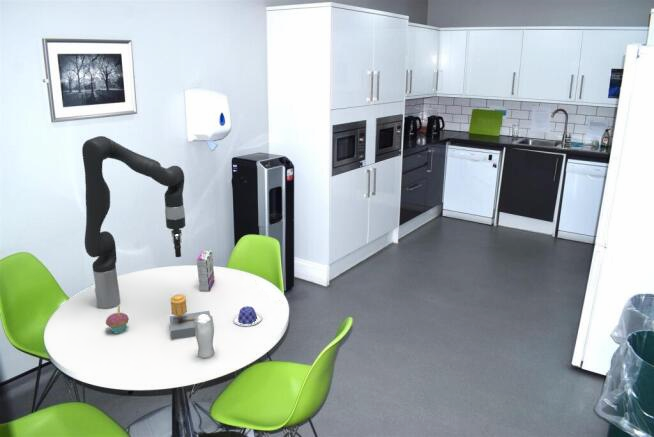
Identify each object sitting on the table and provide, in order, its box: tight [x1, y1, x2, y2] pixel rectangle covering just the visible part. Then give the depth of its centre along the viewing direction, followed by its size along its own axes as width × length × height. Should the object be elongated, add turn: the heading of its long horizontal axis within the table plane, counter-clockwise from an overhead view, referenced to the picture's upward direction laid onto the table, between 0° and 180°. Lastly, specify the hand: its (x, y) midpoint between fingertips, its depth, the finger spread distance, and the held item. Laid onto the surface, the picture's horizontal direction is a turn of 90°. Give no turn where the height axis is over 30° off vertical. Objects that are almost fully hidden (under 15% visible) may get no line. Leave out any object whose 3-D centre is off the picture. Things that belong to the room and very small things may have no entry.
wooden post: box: [177, 315, 183, 323], centre depth 208 cm, size 2×2×9 cm
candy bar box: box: [196, 250, 215, 292], centre depth 246 cm, size 11×5×16 cm, turn 179°
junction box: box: [169, 310, 211, 341], centre depth 211 cm, size 16×12×5 cm
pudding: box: [232, 305, 263, 327], centre depth 218 cm, size 12×12×5 cm
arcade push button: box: [169, 293, 188, 316], centre depth 207 cm, size 6×6×7 cm
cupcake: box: [105, 305, 130, 334], centre depth 209 cm, size 9×8×12 cm
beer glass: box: [194, 314, 215, 359], centre depth 192 cm, size 7×7×15 cm
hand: (178, 252), depth 215 cm, fingers open, 8 cm apart
